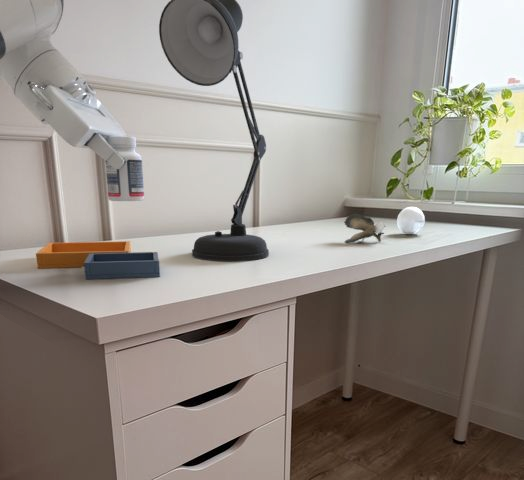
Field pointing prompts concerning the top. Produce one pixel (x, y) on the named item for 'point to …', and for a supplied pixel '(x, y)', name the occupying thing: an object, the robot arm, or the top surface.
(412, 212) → the white egg
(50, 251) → the amber tray
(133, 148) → the pill bottle
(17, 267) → the top surface
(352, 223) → the eagle figurine
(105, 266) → the slate tray
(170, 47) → the desk lamp
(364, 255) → the top surface
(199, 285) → the top surface
